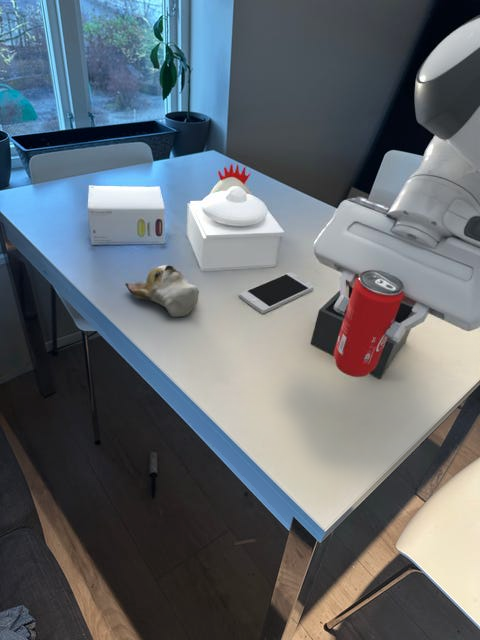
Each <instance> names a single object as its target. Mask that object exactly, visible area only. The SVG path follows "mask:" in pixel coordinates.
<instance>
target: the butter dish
mask: <svg viewBox="0 0 480 640" xmlns="http://www.w3.org/2000/svg"><path fill="white" fill-rule="evenodd" d="M186 206H187V210H186V236H187V239H188V241H189V244H190V246H191V248H192V251H193V254H194V256H195V259H196V262H197V264H198V266H199V269H200V271H201V272H216V271H219V272H220V271H233V270H234V271H235V270H251V269H265V268H267V269H269V268H276V267H277V264H278V257H279V251H280V246H281V241H282V236H285V231H284V230H283V228H282V226H281V225H280V224H279V223H278V222H277V220H276V219H275V217H274V216H273V215H272V213H271V212H270V211H269V210H268V207H267V205H266V204H265V202H264V201H263V200H261V199H260V198H259V197H256V196H255V195H253V194H252V195H250V194H247V193H246V192H245V191H244V190H243V189H242V188H240V187H231V188H230V189H229V190H227V191H221V192H216V193H213V194H210V193H209V194H208V195H206V197H204V198H203V199H202V200H190V201H189V202H188V203H187V205H186Z"/></svg>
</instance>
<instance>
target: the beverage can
mask: <svg viewBox="0 0 480 640" xmlns="http://www.w3.org/2000/svg"><path fill="white" fill-rule="evenodd" d="M403 289H404V285H403V282H402V281H401V280H400V279H399V278H397V277H396V276H394V275H392V274H390V273H388V272H384V271H380V270H367V271H364V272H362V273H361V274H360V275H359V278H357V279H356V281H355V284H354V287H353V290H352V294H351V297H350V300H349V304H348V307H347V310H346V314H345V317H344V320H343V324H342V327H341V330H340V334H339V337H338V340H337V344H336V347H335V350H334V356H333V357H334V363H335V366H336V368H337V369H338V370H339V371H340V372H341V373H343V374H345V375H347V376H349V377H353V378H364V377H367V376H368V375H370V374H369V373H370V372H371V371H372V370H374V369H375V368H376V366H377V363H378V361H379V358H380V355H381V353H382V350H383V348H384V345H385V343H386V340H387V337H386V336H385V333H386V331H387V329H388V328H390V325H391V323H392V322H393V320H394V319H395V317H396V314H397V312H398V309H399V306H400V304H401V301H402V299H403V296H404V292H403Z"/></svg>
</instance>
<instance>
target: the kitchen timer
mask: <svg viewBox="0 0 480 640" xmlns="http://www.w3.org/2000/svg"><path fill="white" fill-rule="evenodd" d="M239 168H240V167H239V164H237V165H236V167H235V171H234V165H233V163H231V164H230V165H229V169H227V167H226V166H224V167H223V173H224V175H223V174H222V172H221V171H220V170H218V171H217V174H218V177H219V181H217V183H216V184H215V185H214V187H213V188H212V190H211V191H210V192H209V195H210V194H213V193H216V192H221V191H227V190H229V189H230V188H231V187H240V188H242V189H243V190H244V191H245V192H246V193H247V194H250V195H253V194H252V190H251V189H250V187H249V185H247V183H246V182H247V181H248V179H249V177H250V176H251V172H249V173H248V174H246V170H247V169H246V168H247V167H246V166H244V167H243V169H242V171H241V173H240V169H239Z"/></svg>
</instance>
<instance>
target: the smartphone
mask: <svg viewBox="0 0 480 640" xmlns="http://www.w3.org/2000/svg"><path fill="white" fill-rule="evenodd" d="M314 287H315V286H314V285H312V284H311V283H309V282H308V281H306V280H305V279H303V278H301V277H300V276H298V275H296V274H295V273H293V272H291V271H289V272H287V273H284V274H282V275H280V276H277V277H275V278H272V279H270V280H268V281H265V282H262V283H260V284H258V285H256V286H253V287H251V288H248V289H247V290H244V291H242V292H240V293H239V298H240V299H241V300H242V301H244V302H245V303H247V304H248V305H250V307H252V308H254V309H255V310H256V311H258V312H259V313H260V314H266V313H268V312H270V311H272V310H274V309H277V308H278V307H280V306H283V305H285V304H287V303H289V302H291V301H293V300H295V299H297V298H300V297H302V296H304V295H306V294H308V293H310V292H312V291H313V290H314Z"/></svg>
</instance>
